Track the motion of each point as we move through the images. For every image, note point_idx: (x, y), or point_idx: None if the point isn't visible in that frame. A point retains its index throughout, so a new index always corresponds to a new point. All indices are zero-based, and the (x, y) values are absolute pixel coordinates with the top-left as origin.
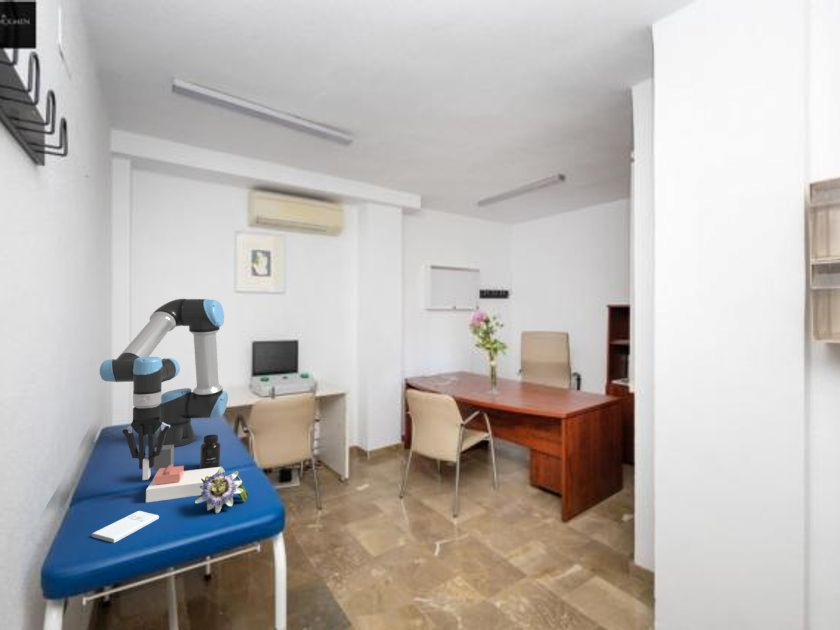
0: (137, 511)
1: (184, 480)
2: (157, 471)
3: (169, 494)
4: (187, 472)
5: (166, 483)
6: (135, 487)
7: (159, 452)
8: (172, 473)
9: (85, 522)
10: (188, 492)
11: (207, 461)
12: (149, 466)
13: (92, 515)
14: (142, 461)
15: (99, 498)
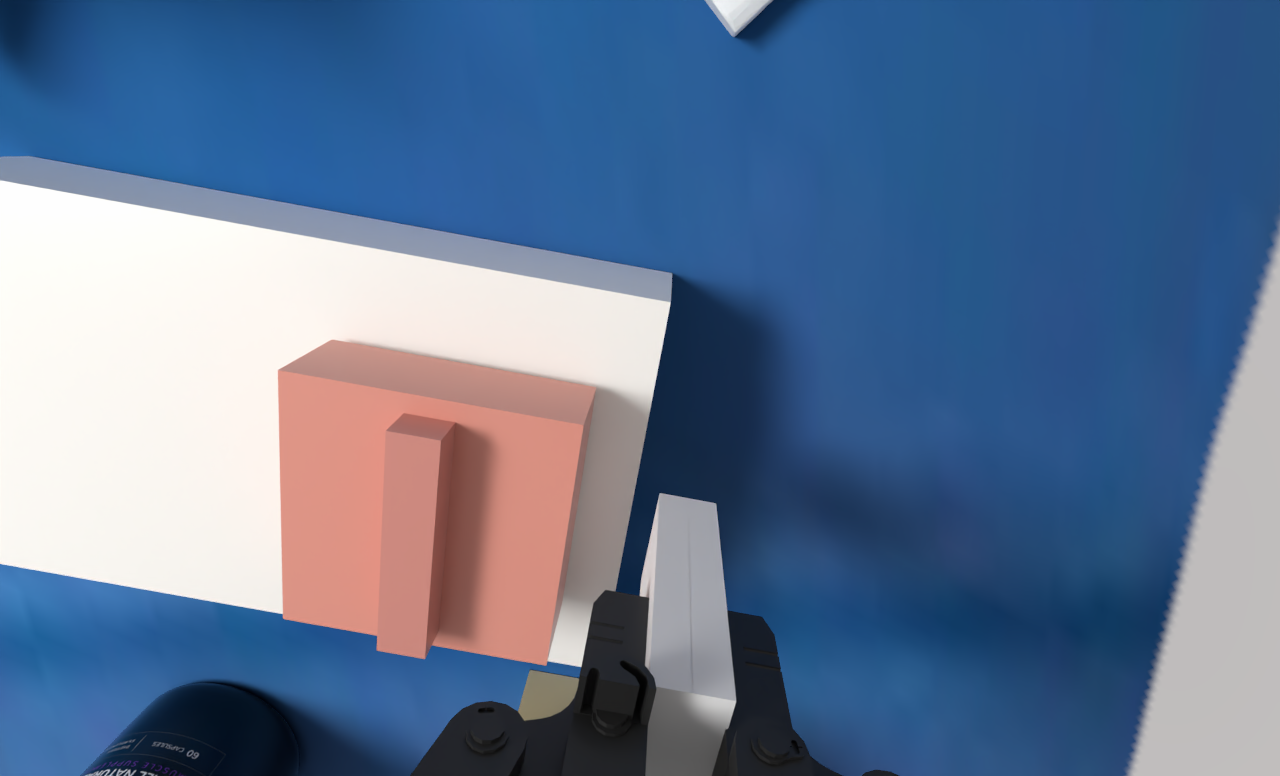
0: (738, 3)
1: None
2: None
3: (457, 243)
4: None
5: None
6: None
7: (433, 755)
8: (372, 430)
9: (1178, 84)
10: (278, 208)
11: (171, 759)
12: (640, 613)
13: (1108, 224)
14: (738, 697)
15: (1030, 562)
